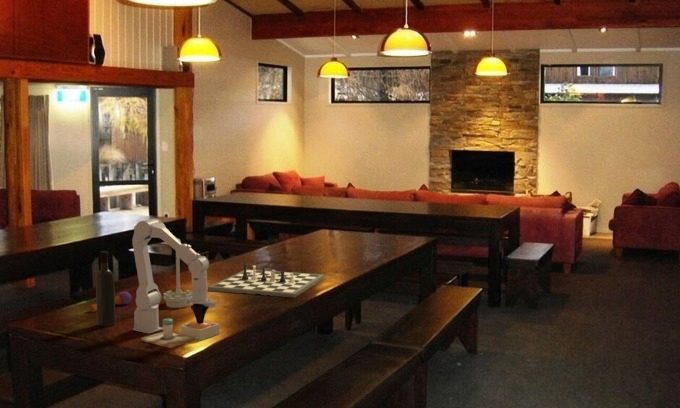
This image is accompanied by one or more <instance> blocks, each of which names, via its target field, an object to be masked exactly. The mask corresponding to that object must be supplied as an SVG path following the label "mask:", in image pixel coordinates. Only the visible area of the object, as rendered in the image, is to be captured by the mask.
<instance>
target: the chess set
mask: <svg viewBox="0 0 680 408" xmlns="http://www.w3.org/2000/svg"><path fill="white" fill-rule="evenodd" d="M242 267H243V269H242V270H241V271H240V272H237V273H235V274H233V275H230V276H229V277H227V278H223V279H222V280H220V281H217V282H215V283H214V284H211V285H209V286H207V292H217V293H218V292H219V293H220V292H221V293H230V292H231V293H233V294H242V293H247V294H246V295H255V294H261V295H260V296H267V295H270V296H269V297H280V298H296V297H298V296H300V295H302V293H304V292H306V291H307V290H309V289H310V288H312V287H314V286H315V285H316V284H318V283H319V282H321V281H322V280H324V279H325V274H323V273H321V274H319V273H308V272H307V273H306V272H304V273H303V272H290V271H283V270H281V271H278V270H277V271H276V270H275V269H271V270H266V269H265V268H264V267H263V268H262V270H261V269H256V268H257V265H255V264H254V265H252V268H253V269H249V268H248V264H247V263H246V261H244V262H243V263H242Z"/></svg>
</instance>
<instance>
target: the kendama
mask: <svg viewBox="0 0 680 408" xmlns="http://www.w3.org/2000/svg"><path fill="white" fill-rule="evenodd" d="M131 300H132V295H131V293H129V292H128V291H121V292H119V293H118V295H116V296H115V305H119V306H120V305H122V306H124V305H125V304H126V305H129V304H130V302H131ZM126 305H125V306H126ZM89 310H90V312H92V313H94V312H97V303H94V304H90V305H89Z"/></svg>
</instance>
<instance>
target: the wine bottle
mask: <svg viewBox="0 0 680 408" xmlns="http://www.w3.org/2000/svg"><path fill="white" fill-rule="evenodd" d="M99 253H100V254H99V256H100V257H99V258H100V270H99V271H98V272H97V274H96V275H95V291H96V292H95V293H96V304H97V311H96V324H97V325H96V326H99V327H103V328H107V327H112V326H115V325H116V304H115V297H116V296H115V293H116V292H115V276H114V273H113V272H112V271H111V270H110V269H109V258H108V257H109V251H108V250H107V251H106V250H103V251H100V252H99Z"/></svg>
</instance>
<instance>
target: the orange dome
mask: <svg viewBox="0 0 680 408" xmlns="http://www.w3.org/2000/svg"><path fill="white" fill-rule="evenodd" d="M188 323H189V327H191V328H195V329H204V328H207V327H210V326H211V320H206V319H204V321H203V323H201V324H198V323H197V321H196V320H192V321H190V322H188Z"/></svg>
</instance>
